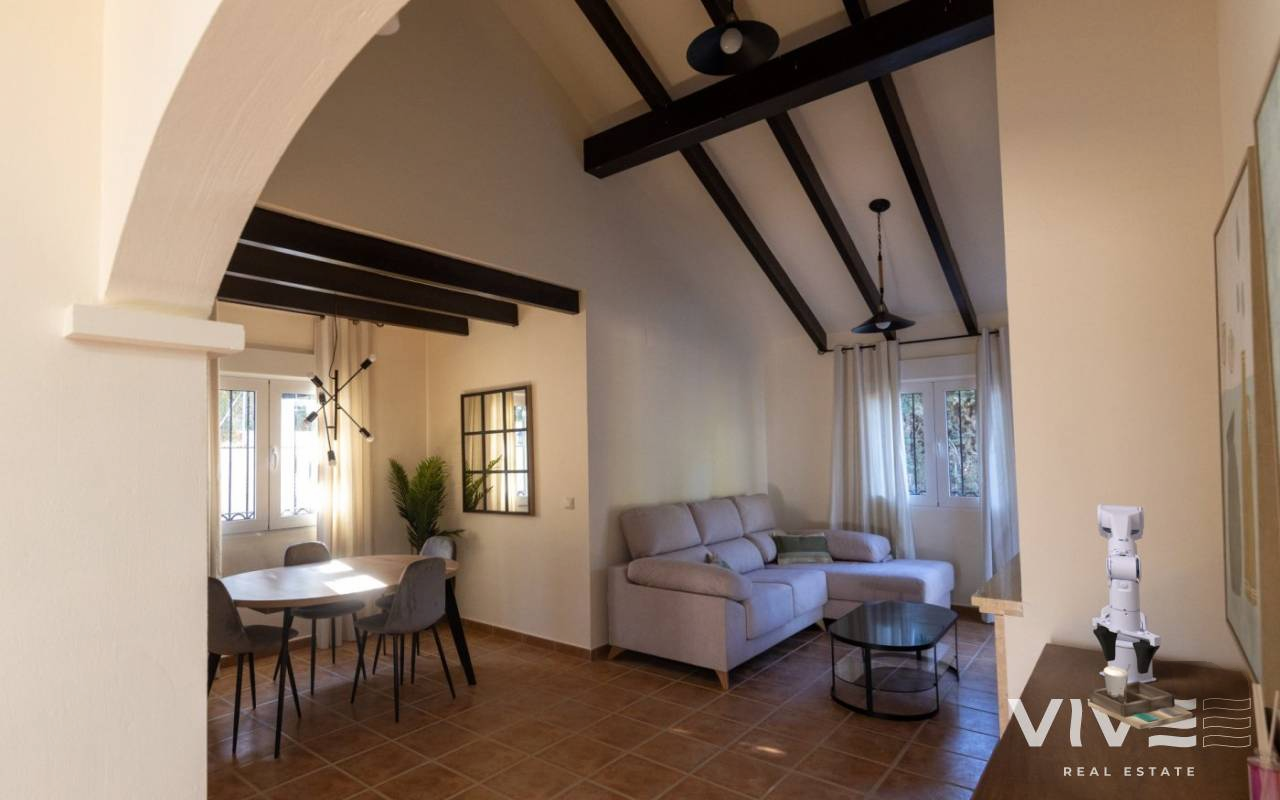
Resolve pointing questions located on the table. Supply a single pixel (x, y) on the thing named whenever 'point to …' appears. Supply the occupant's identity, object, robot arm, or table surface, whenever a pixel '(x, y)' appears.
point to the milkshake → (1116, 683)
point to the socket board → (1139, 706)
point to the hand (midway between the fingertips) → (1126, 666)
